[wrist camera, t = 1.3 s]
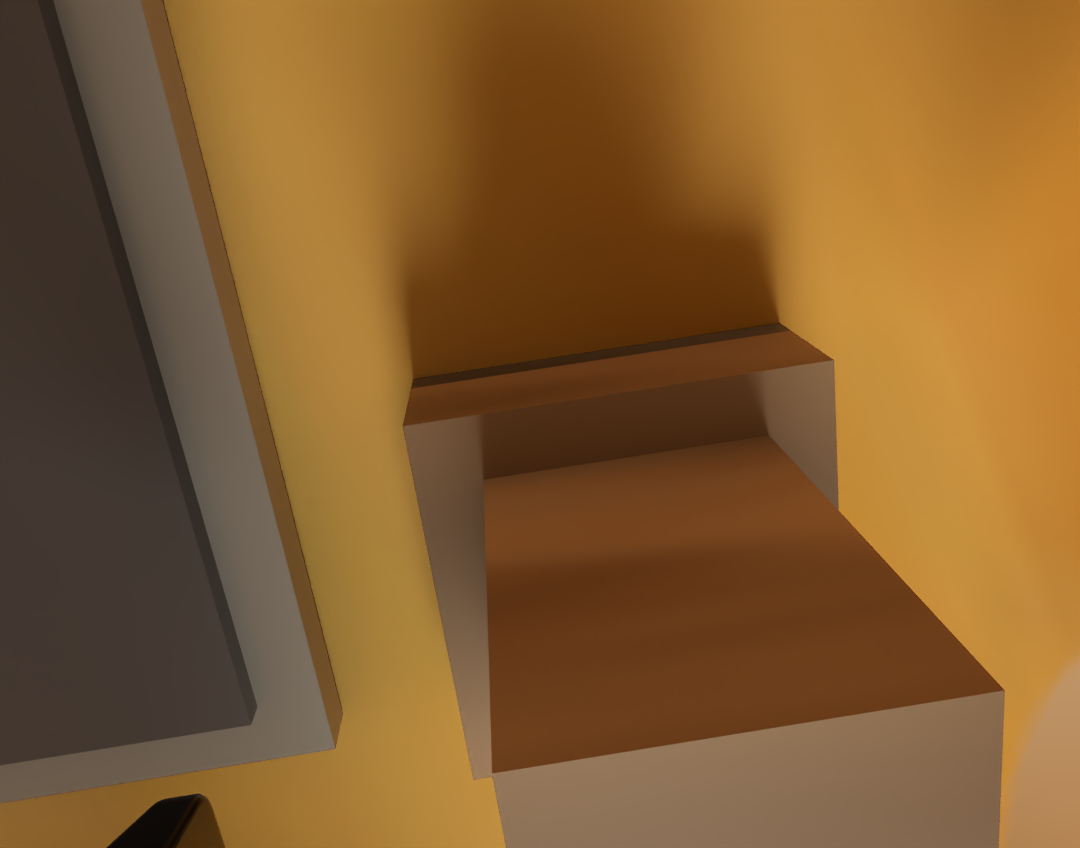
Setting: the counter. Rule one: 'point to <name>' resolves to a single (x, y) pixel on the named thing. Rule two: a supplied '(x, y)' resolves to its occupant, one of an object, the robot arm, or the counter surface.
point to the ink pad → (132, 435)
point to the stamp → (688, 610)
